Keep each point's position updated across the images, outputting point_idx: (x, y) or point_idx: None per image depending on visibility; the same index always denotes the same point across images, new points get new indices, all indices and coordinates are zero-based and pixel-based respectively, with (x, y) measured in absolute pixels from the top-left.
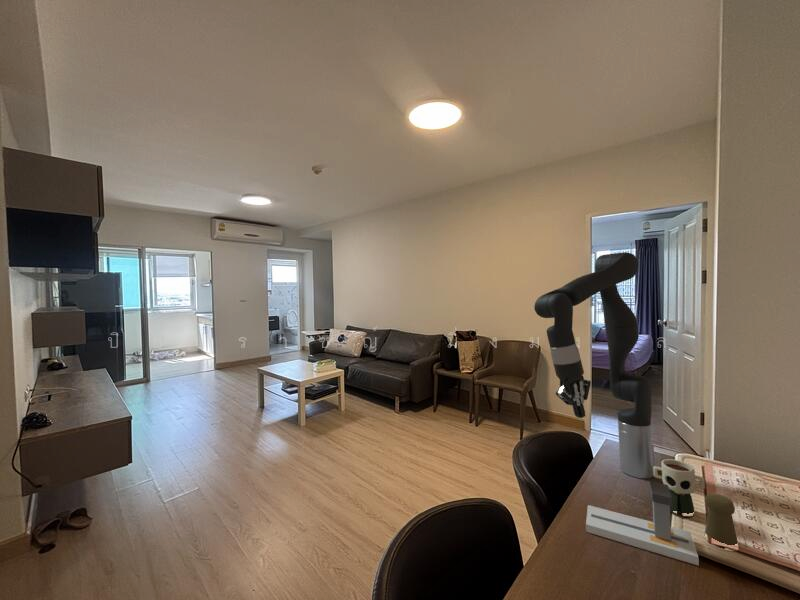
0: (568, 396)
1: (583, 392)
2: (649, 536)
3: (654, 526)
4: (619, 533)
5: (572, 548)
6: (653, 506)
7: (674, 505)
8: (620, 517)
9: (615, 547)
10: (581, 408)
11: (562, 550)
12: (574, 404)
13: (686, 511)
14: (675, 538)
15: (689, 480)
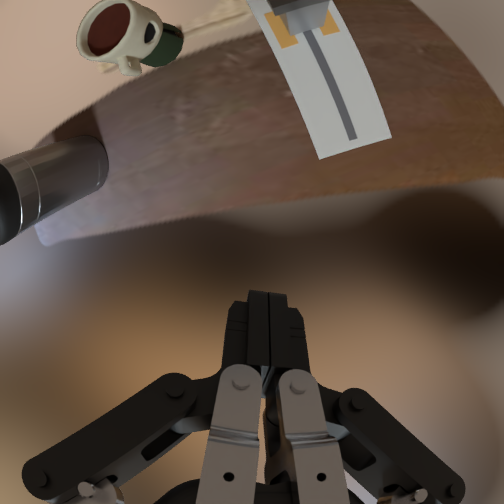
0: (413, 474)
1: (206, 462)
2: (328, 34)
3: (313, 24)
4: (368, 78)
5: (444, 141)
6: (314, 10)
7: (174, 39)
8: (310, 91)
9: (387, 82)
10: (274, 343)
11: (459, 153)
12: (361, 398)
13: (171, 26)
14: None
15: (134, 1)
